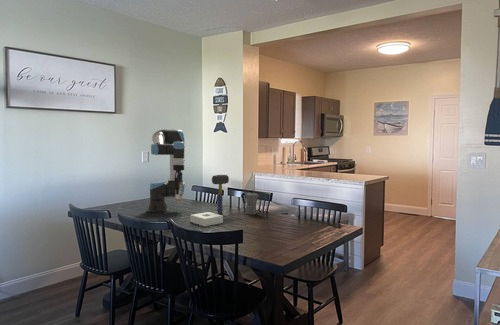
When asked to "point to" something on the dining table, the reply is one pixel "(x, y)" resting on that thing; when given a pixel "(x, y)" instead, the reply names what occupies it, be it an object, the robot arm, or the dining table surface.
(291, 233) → the dining table surface
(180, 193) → the beech peg
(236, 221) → the dining table surface
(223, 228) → the dining table surface
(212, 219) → the socket block
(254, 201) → the coffeepot
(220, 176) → the rubber mallet
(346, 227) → the dining table surface
